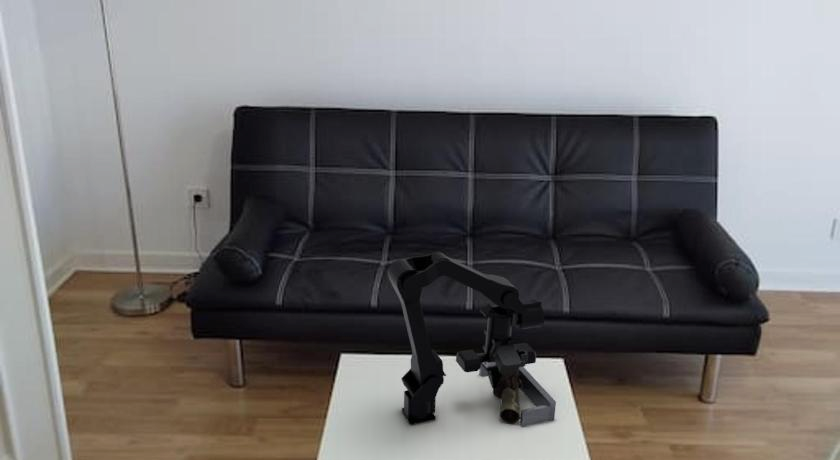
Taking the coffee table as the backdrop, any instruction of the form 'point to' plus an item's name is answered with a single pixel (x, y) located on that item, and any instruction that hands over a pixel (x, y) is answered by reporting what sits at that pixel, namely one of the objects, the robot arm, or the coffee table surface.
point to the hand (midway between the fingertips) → (493, 388)
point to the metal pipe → (508, 397)
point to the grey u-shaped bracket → (533, 399)
